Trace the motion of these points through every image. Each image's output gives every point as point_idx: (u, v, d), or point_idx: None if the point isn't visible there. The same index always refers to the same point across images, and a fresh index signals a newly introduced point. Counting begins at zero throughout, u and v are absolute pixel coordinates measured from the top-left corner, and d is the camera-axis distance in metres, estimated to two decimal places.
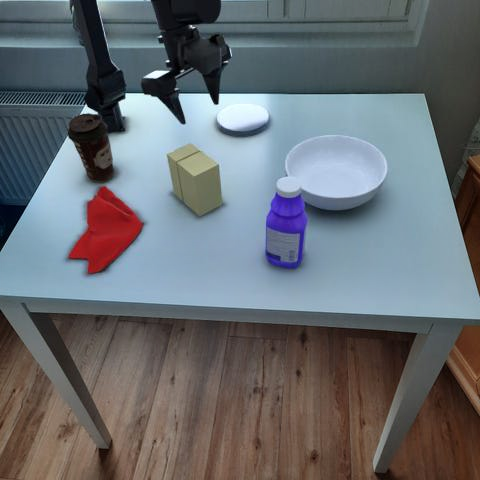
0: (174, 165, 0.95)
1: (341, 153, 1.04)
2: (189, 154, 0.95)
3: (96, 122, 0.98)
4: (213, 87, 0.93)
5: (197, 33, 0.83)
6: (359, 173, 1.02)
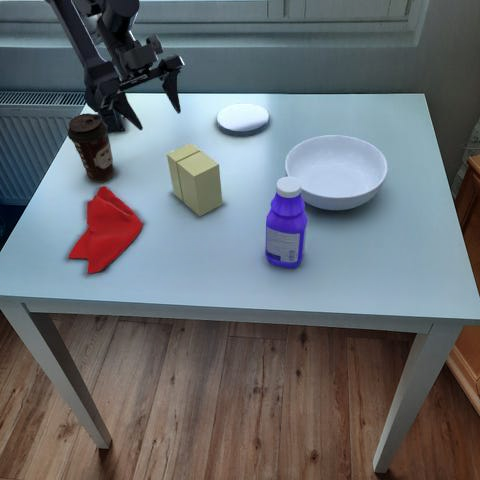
0: (174, 165, 0.95)
1: (341, 153, 1.04)
2: (189, 154, 0.95)
3: (96, 122, 0.98)
4: (172, 96, 0.97)
5: (138, 44, 0.91)
6: (359, 173, 1.02)
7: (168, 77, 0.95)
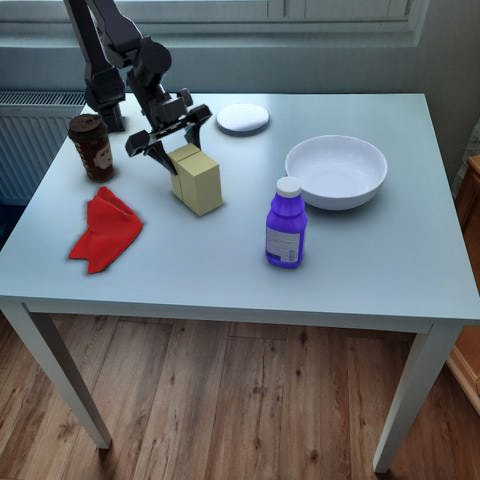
0: (174, 165, 0.95)
1: (341, 153, 1.04)
2: (189, 154, 0.95)
3: (96, 122, 0.98)
4: None
5: (168, 96, 0.92)
6: (359, 173, 1.02)
7: (191, 129, 0.95)
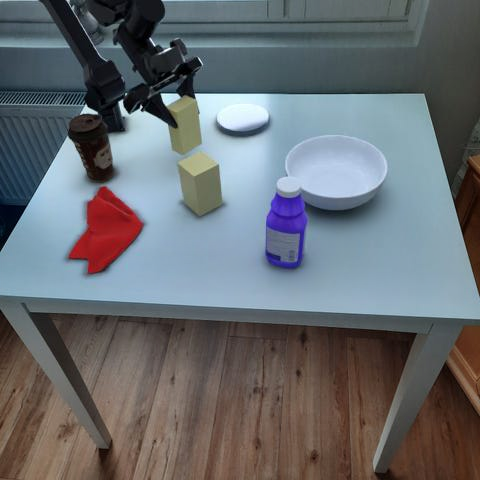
0: (174, 117, 0.96)
1: (341, 153, 1.04)
2: (187, 105, 0.96)
3: (96, 122, 0.98)
4: None
5: (160, 48, 0.93)
6: (359, 173, 1.02)
7: (185, 81, 0.97)
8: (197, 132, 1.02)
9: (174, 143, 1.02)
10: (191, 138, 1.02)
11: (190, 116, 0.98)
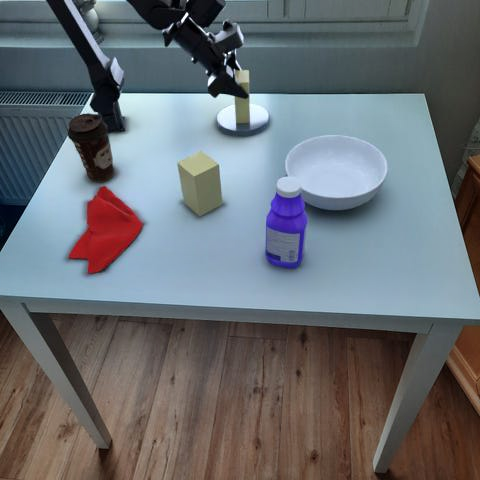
0: (245, 87, 1.09)
1: (341, 153, 1.04)
2: (248, 75, 1.10)
3: (96, 122, 0.98)
4: None
5: (212, 34, 1.05)
6: (359, 173, 1.02)
7: (232, 57, 1.10)
8: (249, 99, 1.17)
9: (240, 114, 1.14)
10: None
11: None
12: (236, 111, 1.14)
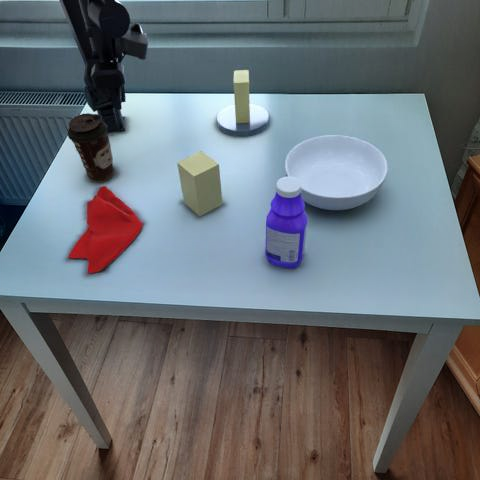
0: (245, 87, 1.09)
1: (341, 153, 1.04)
2: (247, 75, 1.10)
3: (96, 122, 0.98)
4: None
5: None
6: (359, 173, 1.02)
7: None
8: (249, 99, 1.17)
9: (240, 114, 1.14)
10: None
11: None
12: (236, 111, 1.14)
